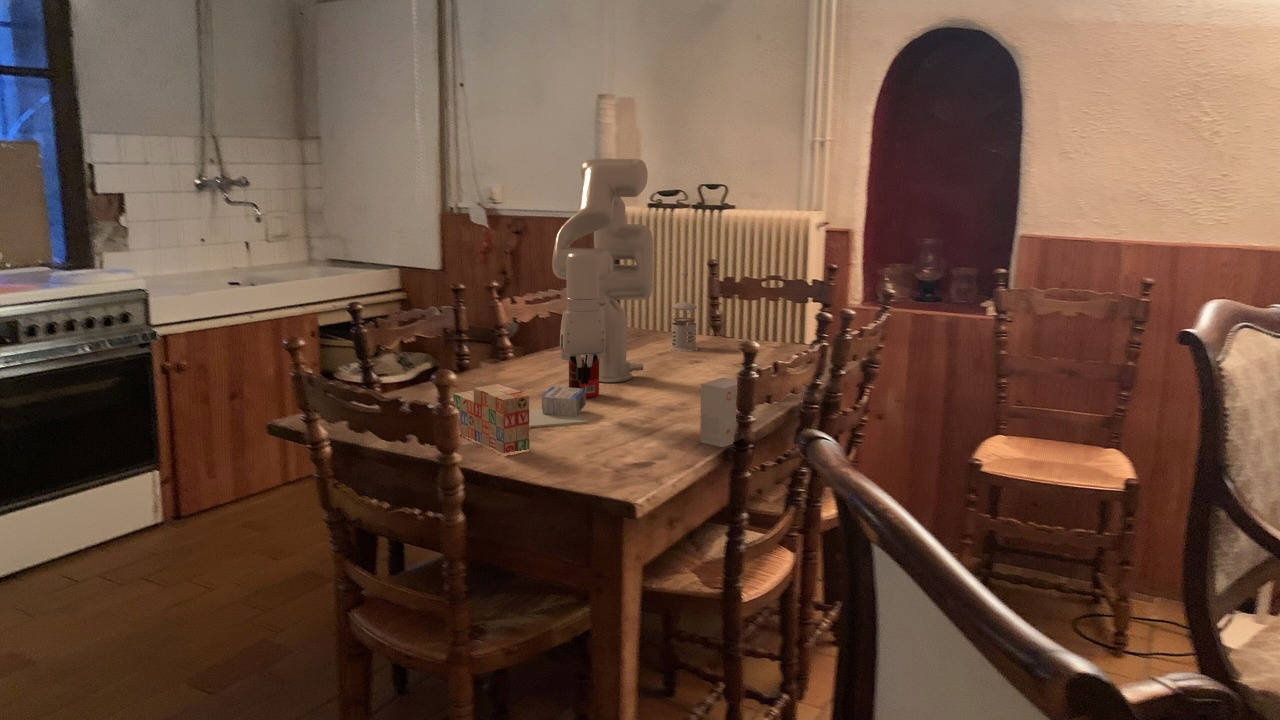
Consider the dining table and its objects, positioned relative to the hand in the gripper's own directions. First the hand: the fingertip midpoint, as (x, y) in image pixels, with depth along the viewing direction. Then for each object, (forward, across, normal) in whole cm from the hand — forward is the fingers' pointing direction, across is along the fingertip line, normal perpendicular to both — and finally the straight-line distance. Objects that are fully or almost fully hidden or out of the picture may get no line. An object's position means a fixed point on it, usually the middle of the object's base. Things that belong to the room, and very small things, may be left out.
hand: (583, 382), depth 222 cm
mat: (+8, +10, 0) cm, 13 cm away
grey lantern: (+8, -54, -73) cm, 91 cm away
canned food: (+8, -5, -19) cm, 21 cm away
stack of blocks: (+8, +24, +15) cm, 30 cm away
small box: (+8, -23, +29) cm, 38 cm away
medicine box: (+5, 0, -1) cm, 5 cm away
